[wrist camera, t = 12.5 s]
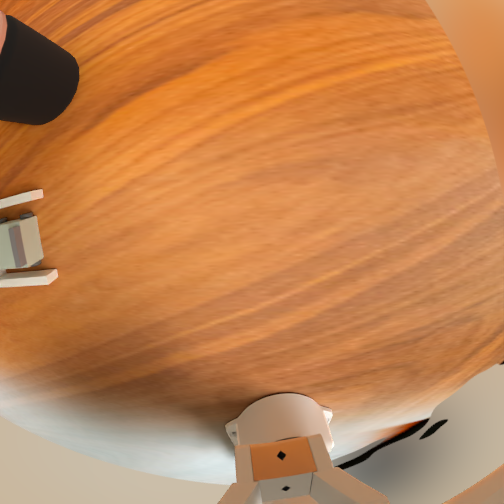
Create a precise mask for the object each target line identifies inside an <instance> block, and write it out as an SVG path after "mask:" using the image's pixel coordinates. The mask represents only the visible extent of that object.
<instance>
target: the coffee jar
mask: <svg viewBox="0 0 504 504" xmlns="http://www.w3.org/2000/svg"><path fill="white" fill-rule="evenodd" d="M78 82H79V67H78V64H77V62H76V59H75V58H74V57H73V56H72V55H71V54H70V53H69V52H67V51H66V50H64V49H63V48H61V47H60V46H58V45H57V44H55V43H54V42H52V41H51V40H49V39H47V38H46V37H44V36H43V35H41V34H40V33H38V32H37V31H35V30H33V29H32V28H30V27H29V26H27V25H25V24H24V23H22V22H21V21H19V20H17V19H16V18H14V17H12V16H10V15H5V14H4V13H3V12H2V11H1V10H0V120H2V121H10V122H17V123H24V124H31V125H41V124H45V123H47V122H49V121H52V120H54V119H55V118H56V117H57V116H59V115H60V114H61V113H62V112H63V111H64V110H65V109H66V107H67V106H68V105H69V104H70V102H71V101H72V99H73V97H74V95H75V93H76V90H77V86H78Z"/></svg>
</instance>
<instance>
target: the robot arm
mask: <svg viewBox="0 0 504 504" xmlns="http://www.w3.org/2000/svg"><path fill="white" fill-rule="evenodd" d="M332 415H333V414H332V410H331V409H330V408H327V407H323V406H320V405H318V404H317V403H316V402H315V401H314V400H313V399H311V398H309V397H307V396H304V395H300V394H292V393H286V394H277V395H272V396H268V397H265V398H263V399H260V400H258V401H256V402H254V403H253V404H251V405H250V406H248V407H247V408H246V409H245V410H244V411H243V412H242V414H241V415H240V416H239V417H238V418H236V419H234V420H232V421H230V422H229V423H227V424H226V425H225V428H226V432H227V434H228V435H229V437H230V439H231V441H232V442H233V444H234V446H235V464H236V478H237V483H232V485H231V486H230V488H229V489H228V490H227V492H226V493H225V495H224V496H223V497H222V499H221V500H220V501H219V502H218V504H390V503H389V501H388V498H387V496H385V495H383V494H381V493H380V492H378V491H376V490H374V489H373V488H371V487H369V486H367V485H366V484H364V483H362V482H361V481H359V480H358V479H356V478H354V477H353V476H351V475H349V474H348V473H346V472H345V471H343V470H342V469H340V468H339V467H335V468H334V467H333V463H332V461H331V459H330V456H329V453H330V452H331V450H332V447H333V446H334V442H333V439H332V435H331V432H330V429H329V426H328V425H329V422H330V420H331V418H332ZM442 504H504V464H503V465H501V466H500V467H499V468H497V469H496V470H495V471H493V472H492V473H490V474H489V475H488V476H486V477H485V478H483V479H482V480H480V481H479V482H477V483H476V484H474V485H473V486H471V487H470V488H468V489H467V490H465V491H463V492H462V493H460V494H458V495H457V496H455V497H453V498H451V499H450V500H448V501H446V502H444V503H442Z"/></svg>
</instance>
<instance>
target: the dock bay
mask: <svg viewBox="0 0 504 504" xmlns="http://www.w3.org/2000/svg"><path fill="white" fill-rule="evenodd" d="M40 198H43V189H39V190H34V191H29V192H26V193H22V194H18V195H15V196H11V197H8V198H4V199H1V200H0V209H1V208H5V207H8V206H12V205H16V204H20V203H24V202H28V201H32V200H36V199H40ZM56 278H58V273H57V269H48V270H38V271H27V272H17V273H6V269H1V270H0V288H2V287H19V286H35V285H49V284H50V283H51V282H52V281H54V280H55V279H56Z"/></svg>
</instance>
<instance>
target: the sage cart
mask: <svg viewBox="0 0 504 504" xmlns="http://www.w3.org/2000/svg"><path fill="white" fill-rule="evenodd" d="M43 258H44V255H43V250H42V245H41V240H40V234H39V228H38V221H37V216H33V213H32V212H30V213H26V214H22V215H20V219H16V220H11V221H7V217H6V218H1V219H0V270H1V269H14V268H27V267H33V266H37V265H39V264H41V259H43Z"/></svg>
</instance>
